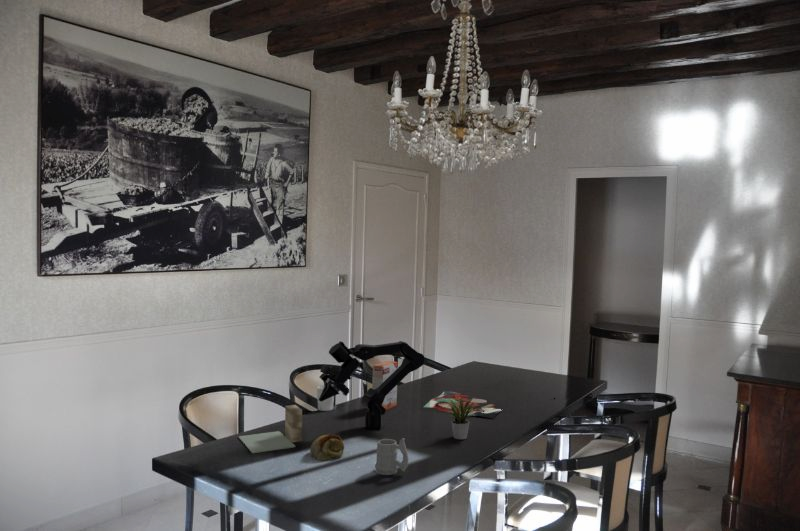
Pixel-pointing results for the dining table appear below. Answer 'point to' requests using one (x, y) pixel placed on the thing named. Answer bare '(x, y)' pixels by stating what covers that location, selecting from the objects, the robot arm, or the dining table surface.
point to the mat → (266, 442)
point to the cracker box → (380, 375)
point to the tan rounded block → (293, 423)
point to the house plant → (460, 419)
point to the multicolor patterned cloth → (444, 407)
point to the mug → (390, 456)
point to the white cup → (325, 404)
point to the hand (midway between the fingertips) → (319, 400)
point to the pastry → (327, 447)
